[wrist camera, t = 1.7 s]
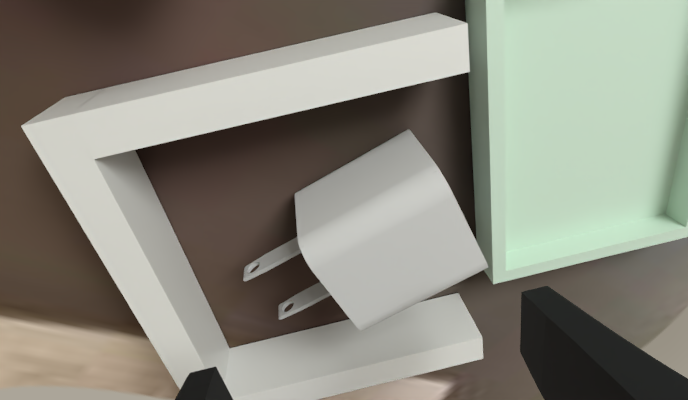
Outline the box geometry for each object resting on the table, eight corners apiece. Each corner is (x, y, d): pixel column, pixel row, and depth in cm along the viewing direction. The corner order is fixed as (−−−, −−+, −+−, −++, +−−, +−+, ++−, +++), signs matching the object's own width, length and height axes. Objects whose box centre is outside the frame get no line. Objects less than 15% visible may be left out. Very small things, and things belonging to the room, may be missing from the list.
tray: (665, 214, 18) (695, 234, 17) (477, 260, 18) (493, 284, 16) (734, -106, 12) (787, -114, 11) (462, -44, 12) (485, -45, 11)
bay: (459, 313, 19) (483, 358, 17) (211, 373, 19) (202, 428, 17) (435, 12, 13) (467, 23, 11) (65, 97, 13) (20, 126, 10)
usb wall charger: (448, 209, 16) (493, 276, 13) (292, 292, 17) (295, 375, 14) (404, 122, 14) (443, 174, 11) (231, 220, 15) (217, 297, 12)
